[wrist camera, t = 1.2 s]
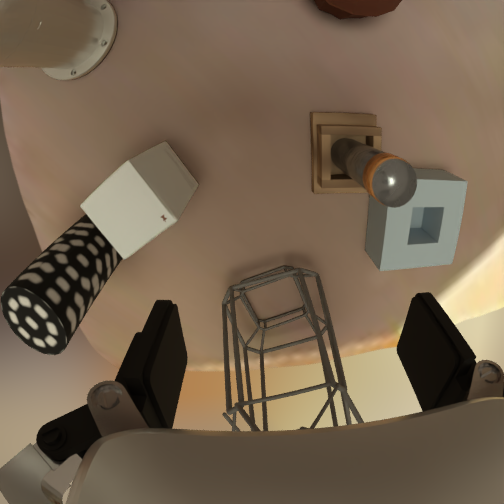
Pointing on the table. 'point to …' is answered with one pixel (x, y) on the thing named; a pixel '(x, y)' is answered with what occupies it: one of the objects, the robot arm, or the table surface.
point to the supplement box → (141, 199)
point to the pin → (376, 171)
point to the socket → (418, 224)
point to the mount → (325, 135)
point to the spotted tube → (59, 287)
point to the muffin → (357, 7)
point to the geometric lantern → (323, 353)
